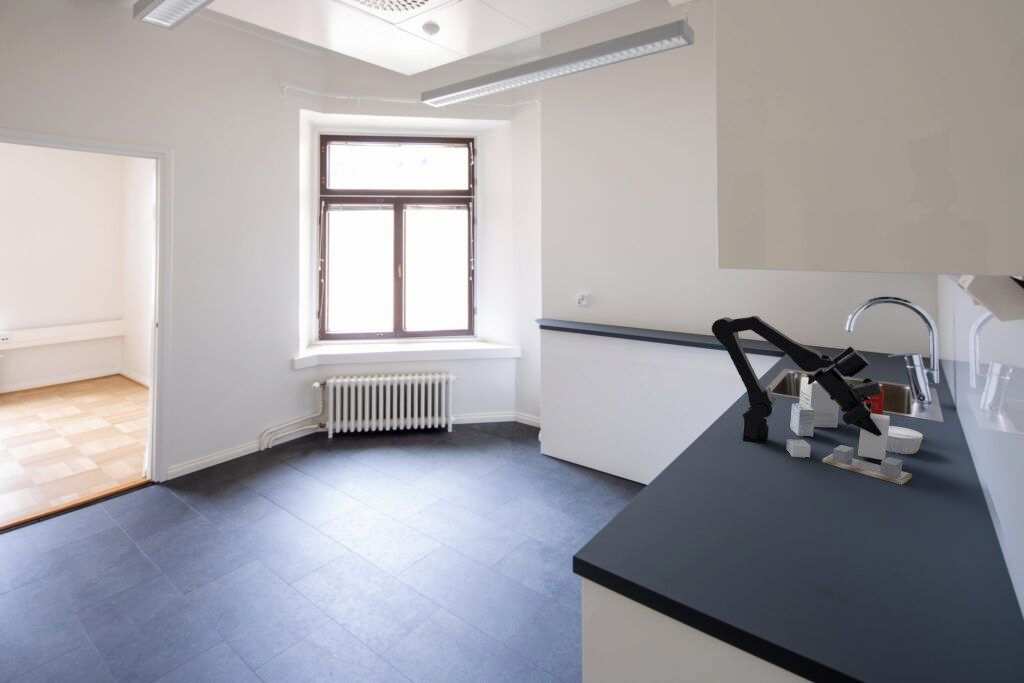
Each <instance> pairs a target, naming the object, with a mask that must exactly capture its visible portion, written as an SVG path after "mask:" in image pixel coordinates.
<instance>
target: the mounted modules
mask: <svg viewBox="0 0 1024 683" xmlns="http://www.w3.org/2000/svg"><path fill="white" fill-rule="evenodd" d="M854 449H855V448H854V447H851V446H847V445H843V444H840V445H837V447H834V448H833V451H832V454H833V459H832V460H836V461H840V462H843V463H846V462H847V461H849V460H851V459H853V456H854ZM903 461H904V460H903V459H898V458H895V457H890V456H888V457H885V459H884V460H881V461H880V466H881V469H880V473H883V474H886V475H890V476H893V477H894V476H896V475H897V474H899V473H900V472H901V471H903V470H902V469H903V468H902V467H903Z"/></svg>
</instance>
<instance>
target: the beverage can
mask: <svg viewBox="0 0 1024 683" xmlns="http://www.w3.org/2000/svg"><path fill="white" fill-rule="evenodd" d="M879 385H880V387H881V389H882V394H881V395H877V396H876V395H874V396H869V397H870V400H865V401H864V403H865V404H867V403H868V402H870V401H871V412H872V413H873V414H880V415H884V397H885V396H884V392H885V389H884V386H883V384H882V383H879ZM862 403H863V402H862Z"/></svg>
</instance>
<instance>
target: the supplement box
mask: <svg viewBox="0 0 1024 683" xmlns="http://www.w3.org/2000/svg"><path fill="white" fill-rule="evenodd" d="M800 381H801V382H800V394H799V403H801V404H807V405H808V406H810V407H811V408H812V409H814V410H815V418H814V428H833V429H835V428H836V429H837V428H838V424H839V423H838V422H839V412H840V406H839V405H838V404H837V403H836V402H835V401H834V400H831V399H830V396H829V394H828V393H827V392H826V391H825V390H824V389H823V388H822V387H821V386H820V385H819V384H818V383H817V382H816V381H815V382H813V383H812V384H810V385H809V384H808V376H806V377H805V376H802V377H801V378H800Z"/></svg>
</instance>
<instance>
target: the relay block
mask: <svg viewBox="0 0 1024 683" xmlns="http://www.w3.org/2000/svg"><path fill="white" fill-rule="evenodd" d="M785 446H786V447H785V448H786V449H785V451H786V450H787V451H788V452H789V453H790V454H789V453H788V452H787V451H786V452H787V453H788V454H789V455H790V456H791V457H792V458H794V457H795V458H805V457H809V459H810V458H811V448H812V446H811V445H810V444H809V443H808V442H807V441H806V440H804V439H790V438H789V439H788V438H786V445H785Z"/></svg>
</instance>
